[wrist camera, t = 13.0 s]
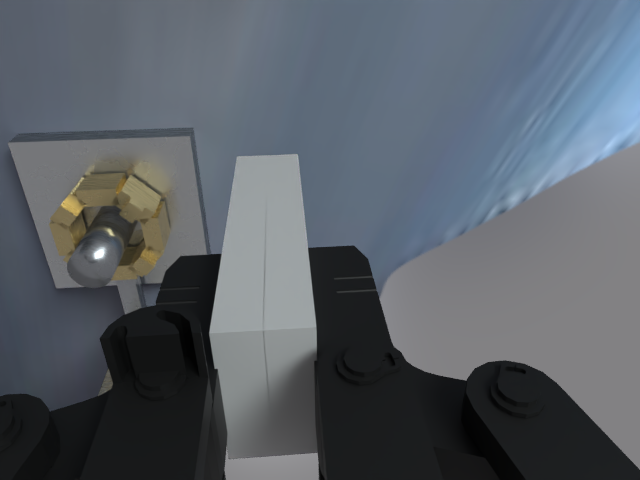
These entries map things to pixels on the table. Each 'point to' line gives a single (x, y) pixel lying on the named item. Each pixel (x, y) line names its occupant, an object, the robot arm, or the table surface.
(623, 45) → the table surface
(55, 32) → the table surface
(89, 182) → the ring nut
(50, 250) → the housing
